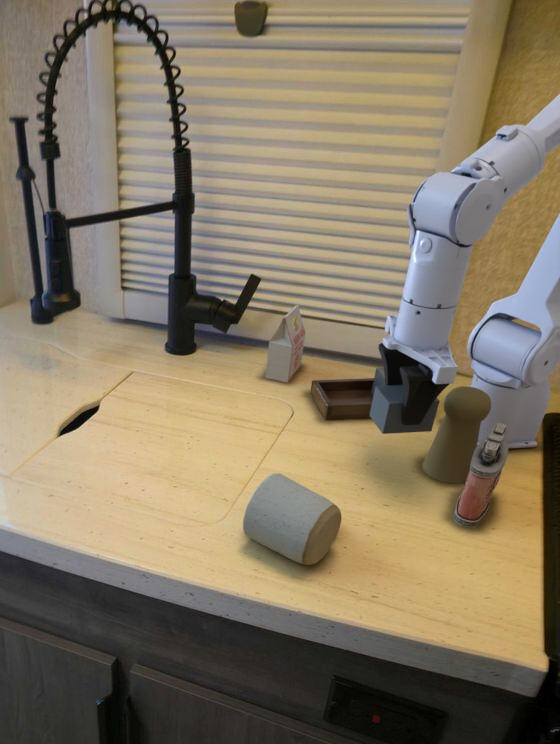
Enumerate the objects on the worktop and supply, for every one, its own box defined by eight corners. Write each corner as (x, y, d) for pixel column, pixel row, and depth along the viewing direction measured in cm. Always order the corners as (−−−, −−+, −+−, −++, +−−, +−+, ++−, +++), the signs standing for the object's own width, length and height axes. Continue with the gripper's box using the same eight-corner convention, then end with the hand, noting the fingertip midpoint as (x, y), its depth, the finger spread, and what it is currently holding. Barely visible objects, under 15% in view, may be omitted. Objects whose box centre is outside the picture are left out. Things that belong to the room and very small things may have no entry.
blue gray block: (416, 413, 82) (423, 383, 79) (431, 431, 78) (439, 401, 76) (369, 415, 81) (375, 385, 79) (382, 434, 78) (389, 403, 75)
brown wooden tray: (408, 390, 102) (415, 361, 99) (430, 415, 96) (438, 385, 93) (309, 394, 101) (314, 364, 98) (325, 420, 94) (330, 389, 91)
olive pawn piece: (475, 486, 81) (503, 406, 75) (424, 480, 82) (447, 400, 76) (468, 460, 86) (493, 382, 80) (420, 454, 87) (441, 377, 80)
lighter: (479, 531, 74) (506, 455, 68) (448, 521, 76) (472, 446, 70) (493, 496, 80) (520, 423, 74) (464, 487, 81) (488, 415, 75)
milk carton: (265, 377, 105) (271, 316, 99) (279, 361, 110) (286, 302, 104) (287, 382, 104) (295, 320, 98) (300, 366, 109) (309, 306, 103)
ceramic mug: (304, 582, 67) (315, 522, 63) (238, 548, 71) (244, 489, 67) (353, 534, 74) (366, 476, 69) (290, 505, 78) (299, 449, 73)
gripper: (369, 278, 76) (350, 386, 84) (421, 326, 65) (393, 446, 73) (428, 276, 77) (403, 384, 85) (490, 324, 65) (454, 442, 73)
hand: (402, 412), depth 79 cm, fingers closed on blue gray block, 4 cm apart
